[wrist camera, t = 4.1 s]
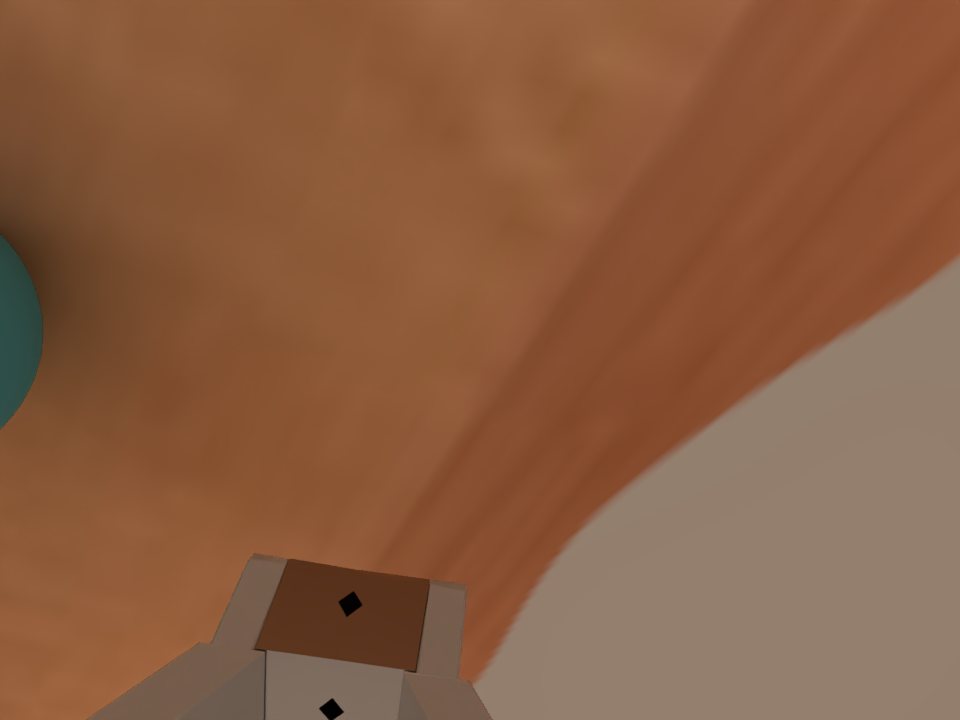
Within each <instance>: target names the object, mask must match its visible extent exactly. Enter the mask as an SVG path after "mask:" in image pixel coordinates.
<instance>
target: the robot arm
mask: <svg viewBox="0 0 960 720" xmlns="http://www.w3.org/2000/svg"><path fill="white" fill-rule="evenodd" d="M429 582H430V579H423V578H416V577H408V576H401V575H394V574H386V573H379V572H372V571H364V570H361V571H360V570H355V569H349V568H343V567H337V566H331V565H326V564H320V563H314V562H308V561H302V560H296V559H285V558H279V557H274V556H268V555H262V554H257V553H254V555H253V556H252V557H251V558H250V559H249V560H248V562H247V564H246V566H245V568H244V570H243V573H242V575H241V577H240V579H239V582H238V584H237V586H236V588H235V590H234V593H233V595H232V597H231V599H230V602H229V604H228V606H227V608H226V610H225V613H224V615H223V617H222V619H221V622H220V624H219V626H218V628H217V630H216V633H215V635H214V637H213V639H212V642H211V644H208V643H200V642H199V643H198V644H196V645H195V646H194V647H192V648H191V649H189V650H188V651H186V652H185V653H183V654H182V655H180V656H179V657H177V658H176V659H174V660H173V661H171V662H170V663H169V664H167V665H166V666H164V667H163V668H161V669H160V670H158V671H157V672H155V673H154V674H152V675H151V676H149V677H148V678H146V679H145V680H143V681H142V682H141V683H139V684H138V685H136V686H135V687H133V688H132V689H130V690H129V691H127V692H126V693H124V694H123V695H121V696H120V697H118V698H117V699H116V700H114V701H113V702H111V703H110V704H108V705H107V706H105V707H104V708H102V709H101V710H99V711H98V712H96V713H95V714H93V715H92V716H90V717H89V718H88V719H86V720H493V719H492V718H491V716H490V714H489V713H488V711H487V709H486V708H485V706H484V704H483V703H482V701H481V699H480V698H479V696H478V695H477V693H476V691H475V690H474V688H473V686H472V685H471V683H470V681H465V680H460V679H459V671H460V661H461V650H462V639H463V629H464V618H465V608H466V597H467V587H466V584H462V583H455V582H447V581H440V580H432V579H431V582H430V585H429ZM428 590H429V592H428ZM427 597H428V598H427ZM426 604H427V605H426ZM425 611H426V612H425ZM423 624H424V625H423ZM422 631H423V632H422Z"/></svg>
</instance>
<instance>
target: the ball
mask: <svg viewBox="0 0 960 720" xmlns="http://www.w3.org/2000/svg"><path fill="white" fill-rule="evenodd" d="M42 343H43V320H42V312H41V308H40V303H39V299H38V296H37V293H36V290H35V287H34V284H33V281H32V279H31V277H30V275H29V273H28V271H27V269H26V267H25V265H24V264H23V262H22V261H21V259H20V257H19V256H18V254H17V253H16V252H15V250H14V249H13V248H12V247H11V245H10V244H9V243H8V241H7V240H6V239H5V238H4V237H3V236H2V235H1V234H0V429H1V428H2V427H3V426H4V425H5V424H6V423H7V422H8V420H9V419H10V418H11V417H12V416H13V415H14V413H15V412H16V411H17V409H18V408H19V406H20V405H21V404H22V402H23V400H24V398H25V397H26V395H27V393H28V391H29V389H30V387H31V385H32V383H33V381H34V379H35V375H36V372H37V369H38V365H39V361H40V358H41V353H42Z"/></svg>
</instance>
